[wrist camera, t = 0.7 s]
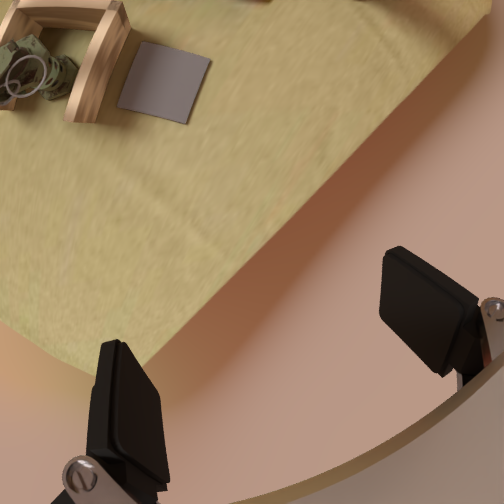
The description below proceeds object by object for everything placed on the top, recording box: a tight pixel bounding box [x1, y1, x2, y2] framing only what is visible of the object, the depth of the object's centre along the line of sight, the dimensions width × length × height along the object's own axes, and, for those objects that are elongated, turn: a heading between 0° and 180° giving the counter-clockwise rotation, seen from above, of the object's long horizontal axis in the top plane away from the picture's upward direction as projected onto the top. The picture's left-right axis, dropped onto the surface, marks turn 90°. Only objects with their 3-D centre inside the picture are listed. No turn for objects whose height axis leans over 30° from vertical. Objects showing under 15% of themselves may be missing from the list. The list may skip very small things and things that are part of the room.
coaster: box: [117, 41, 210, 124], centre depth 29 cm, size 9×9×1 cm
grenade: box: [0, 34, 78, 106], centre depth 19 cm, size 7×7×15 cm
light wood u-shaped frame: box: [0, 0, 131, 123], centre depth 21 cm, size 13×14×9 cm
